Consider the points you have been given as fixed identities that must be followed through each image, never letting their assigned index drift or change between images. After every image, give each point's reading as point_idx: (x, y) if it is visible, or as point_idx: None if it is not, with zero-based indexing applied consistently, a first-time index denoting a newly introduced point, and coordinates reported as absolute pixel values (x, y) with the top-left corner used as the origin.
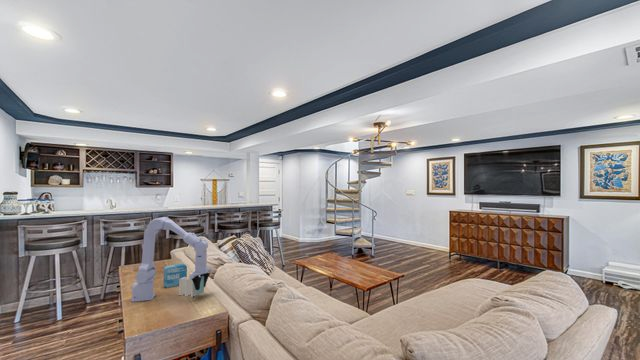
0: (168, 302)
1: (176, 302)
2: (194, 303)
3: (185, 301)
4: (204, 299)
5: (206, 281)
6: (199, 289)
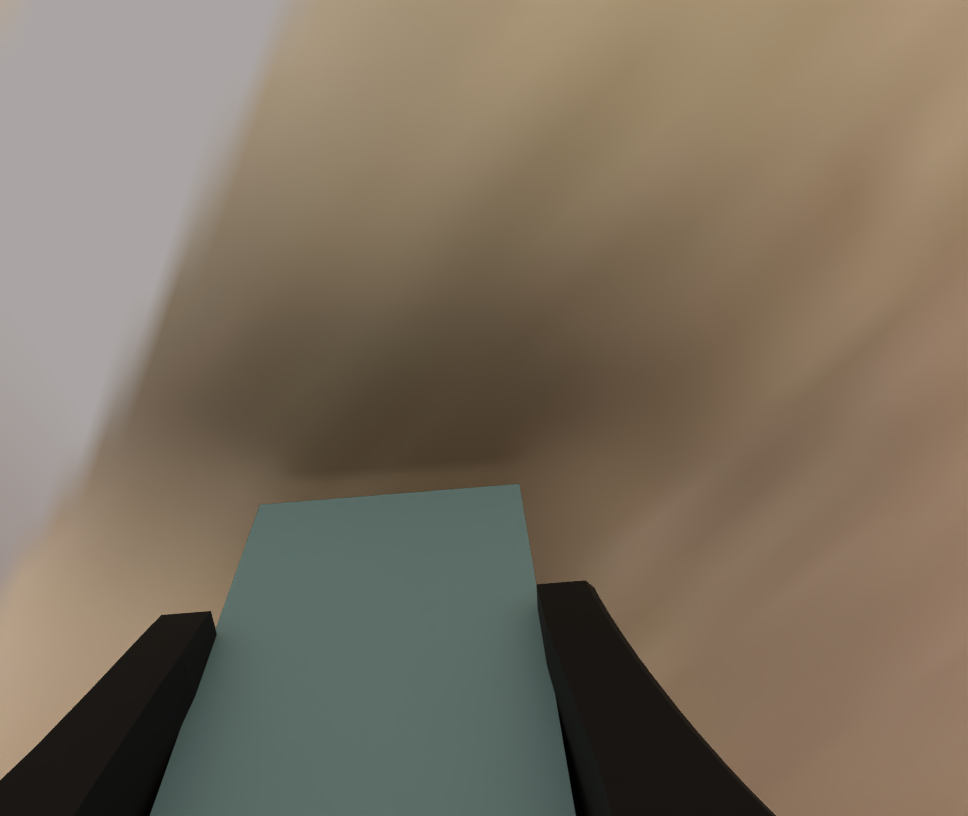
0: (938, 803)
1: (909, 682)
2: (889, 236)
3: (807, 562)
4: (508, 193)
5: (3, 794)
6: (488, 603)
